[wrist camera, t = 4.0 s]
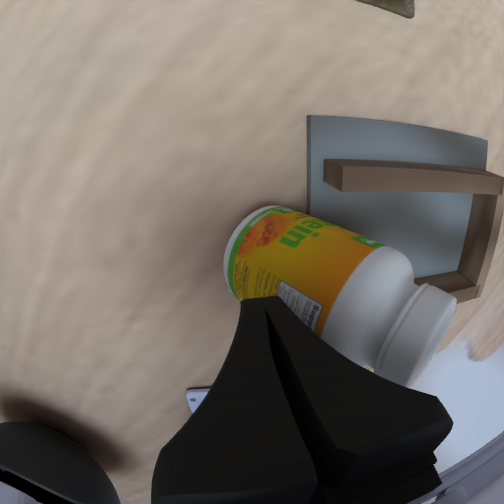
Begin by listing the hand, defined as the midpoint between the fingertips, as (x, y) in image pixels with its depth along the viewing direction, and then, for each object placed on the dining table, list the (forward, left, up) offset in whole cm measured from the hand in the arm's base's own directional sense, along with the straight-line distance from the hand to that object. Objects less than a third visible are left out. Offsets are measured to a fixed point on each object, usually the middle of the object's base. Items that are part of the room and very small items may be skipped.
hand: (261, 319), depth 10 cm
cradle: (0, -11, -7) cm, 13 cm away
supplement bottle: (0, -1, -6) cm, 6 cm away
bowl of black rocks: (-24, +25, -7) cm, 36 cm away
